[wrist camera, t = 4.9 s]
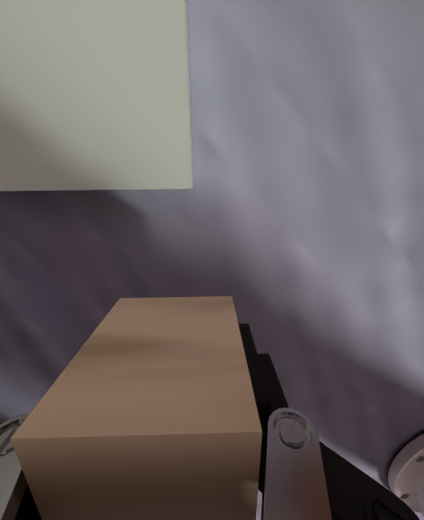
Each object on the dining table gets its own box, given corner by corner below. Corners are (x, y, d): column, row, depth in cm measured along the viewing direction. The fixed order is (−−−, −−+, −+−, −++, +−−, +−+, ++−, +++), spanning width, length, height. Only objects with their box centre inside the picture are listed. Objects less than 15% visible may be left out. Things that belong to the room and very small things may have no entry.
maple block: (230, 383, 12) (252, 567, 6) (132, 386, 12) (63, 574, 6) (232, 296, 10) (262, 431, 5) (119, 298, 10) (10, 439, 5)
